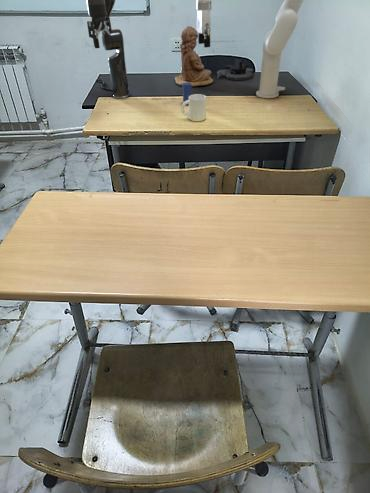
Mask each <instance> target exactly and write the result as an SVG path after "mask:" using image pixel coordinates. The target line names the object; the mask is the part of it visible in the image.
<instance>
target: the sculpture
mask: <svg viewBox="0 0 370 493" xmlns="http://www.w3.org/2000/svg"><path fill="white" fill-rule="evenodd" d="M180 38H181V43H180V44H179V48H180V54H181V56H180V60H181V68H182V69H181V74H180V75H178V76H175V77H174V81H175V84H177V85H178V86H181V87H183V83H191V84H192V87H201V86H208V85H210V84H212V83H213V82H214V79H213V78H212V77H211V75H212V71H211V70H210V69H205V65H204V64H203V63H202V59H201V57H200V56H199V54H198V53H197V52H196V51H195V50H194V49H195V48H196V47H197V44H198V43H197V39H198V32H197V28H195V27H192V26H186V27H185V28H184V29H182V31H181V35H180Z"/></svg>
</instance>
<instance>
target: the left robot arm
mask: <svg viewBox="0 0 370 493" xmlns="http://www.w3.org/2000/svg"><path fill="white" fill-rule="evenodd" d="M115 2H116V0H86V6H87V12H88V16H89V17H90V18H91V20H90V21H89V20H88V21H87V22H86V25H87V31H88V37H89V38H91V39H92V42H93V47H94V49H100V47H101V46H100V40H99V35H100V34H101V35H100V36H101V43H102V47H103V49H104V50H105V51H116V52H115V53H114V54H112V55H110V56H109V57H108V58H107V64H108V70H109V75H110V83H111V88H106V87H105V84H106V83H105V81H104V80H102V79H101V78H96V80H95V82H101V85H100V87H101V89H103V90H105V91H111V92H112V97H113V98H114V99H125V98H128V97H130V90H129V89H130V87H129V82H128V81H129V79H128V74H127V66H126V65H127V64H126V55H125V43H124V41H125V40H124V36H123V32H122V30H121V29H119V28H116V29H112V24H111V13H112V12H113V9H114V7H115Z"/></svg>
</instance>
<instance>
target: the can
mask: <svg viewBox="0 0 370 493" xmlns="http://www.w3.org/2000/svg"><path fill="white" fill-rule="evenodd" d="M192 88H193V86H192V84H191V83H183V86H182V104H183V103H184V102H185V101H187V100H189V96H190V95H193V92H192V91H193V89H192ZM185 106H189V104H186V105H185Z"/></svg>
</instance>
